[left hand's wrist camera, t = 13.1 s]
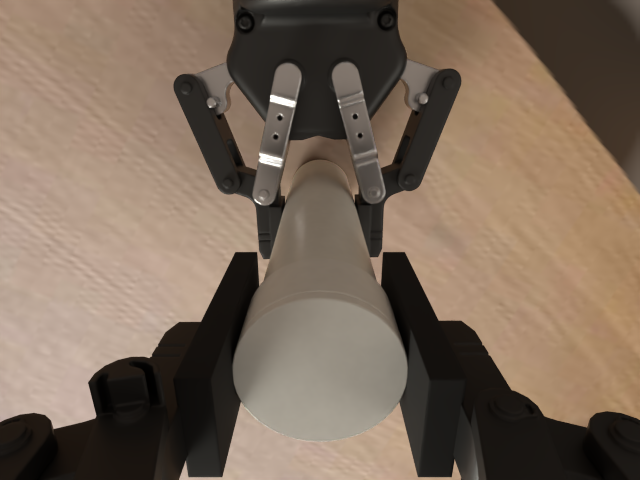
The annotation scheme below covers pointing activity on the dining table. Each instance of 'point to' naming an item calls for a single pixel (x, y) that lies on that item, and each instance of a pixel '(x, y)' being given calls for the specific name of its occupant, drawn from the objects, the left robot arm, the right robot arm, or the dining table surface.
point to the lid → (320, 352)
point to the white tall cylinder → (320, 220)
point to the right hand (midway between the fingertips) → (320, 261)
